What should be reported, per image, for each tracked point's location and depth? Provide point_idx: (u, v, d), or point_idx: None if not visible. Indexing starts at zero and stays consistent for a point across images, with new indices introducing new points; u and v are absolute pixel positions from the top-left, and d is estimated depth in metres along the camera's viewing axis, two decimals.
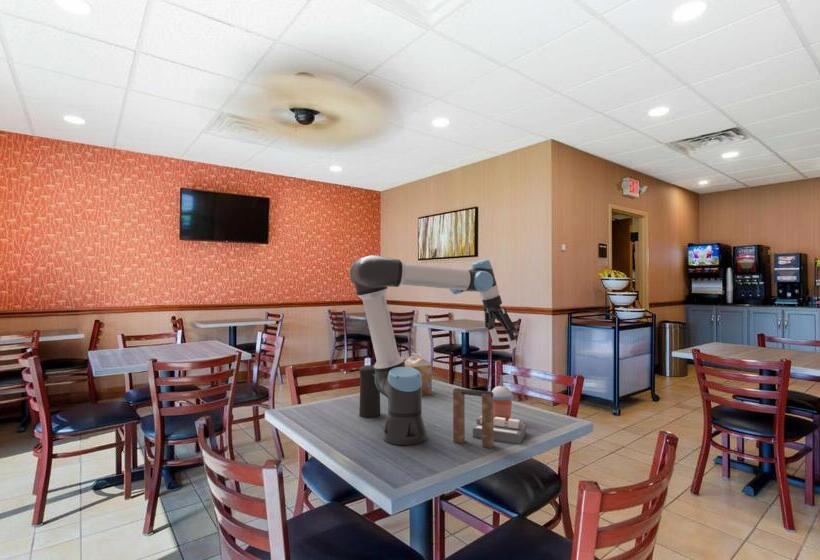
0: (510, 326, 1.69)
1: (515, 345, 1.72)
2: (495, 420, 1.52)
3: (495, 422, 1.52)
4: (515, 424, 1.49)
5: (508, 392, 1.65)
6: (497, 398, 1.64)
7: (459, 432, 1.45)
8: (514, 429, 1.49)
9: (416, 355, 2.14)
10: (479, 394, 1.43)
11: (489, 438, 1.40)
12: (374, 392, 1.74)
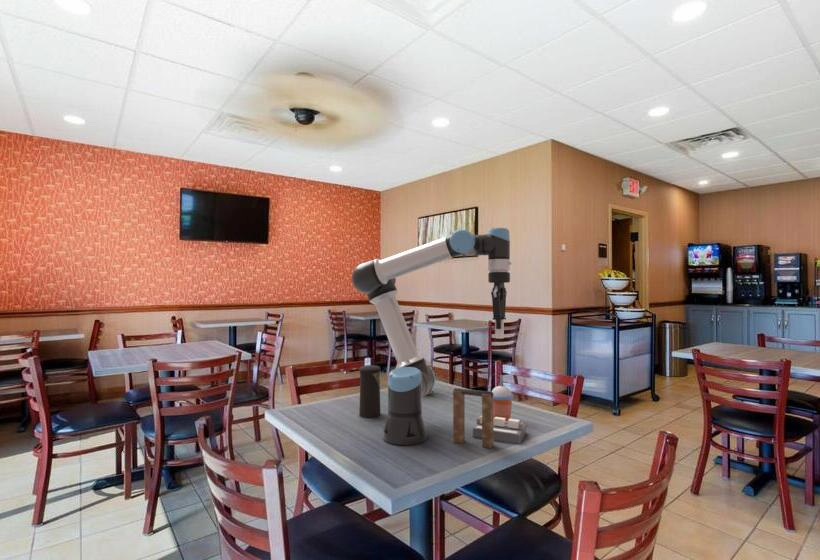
0: (494, 313, 1.50)
1: (500, 336, 1.52)
2: (495, 420, 1.52)
3: (495, 422, 1.52)
4: (515, 424, 1.49)
5: (508, 392, 1.65)
6: (497, 398, 1.64)
7: (459, 432, 1.45)
8: (514, 429, 1.49)
9: None
10: (479, 394, 1.43)
11: (489, 438, 1.40)
12: (374, 392, 1.74)
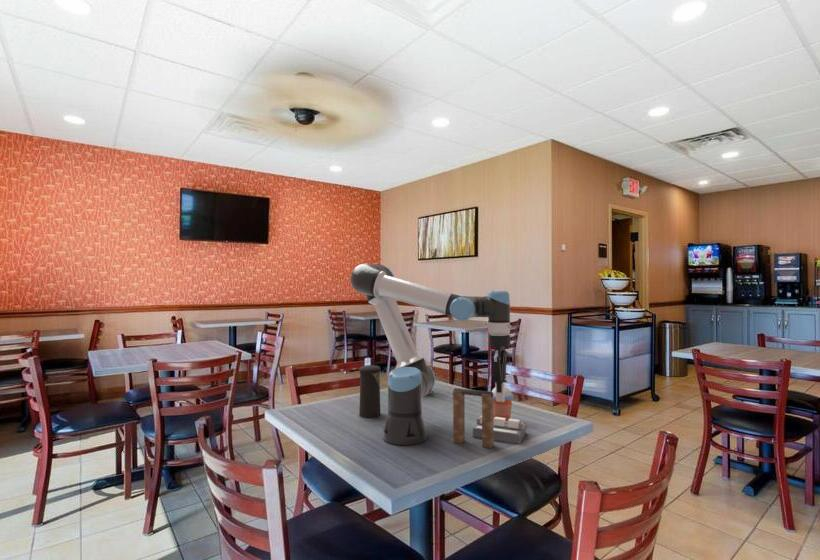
0: (495, 377, 1.49)
1: (501, 399, 1.52)
2: (495, 420, 1.52)
3: (495, 422, 1.52)
4: (515, 424, 1.49)
5: (508, 392, 1.65)
6: None
7: (459, 432, 1.45)
8: (514, 429, 1.49)
9: None
10: (479, 394, 1.43)
11: (489, 438, 1.40)
12: (374, 392, 1.74)
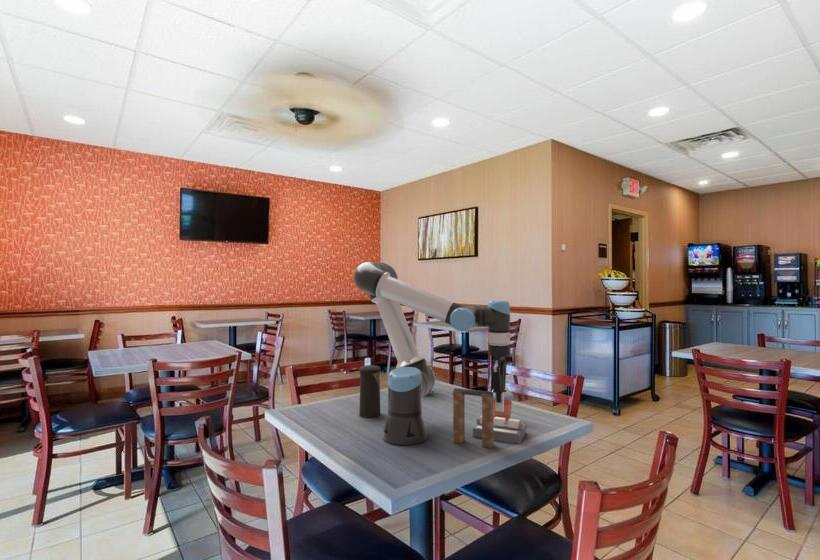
0: (495, 387, 1.49)
1: (501, 409, 1.52)
2: (495, 420, 1.52)
3: (495, 422, 1.52)
4: (515, 424, 1.49)
5: (508, 392, 1.65)
6: None
7: (459, 432, 1.45)
8: (514, 429, 1.49)
9: None
10: (479, 394, 1.43)
11: (489, 438, 1.40)
12: (374, 392, 1.74)
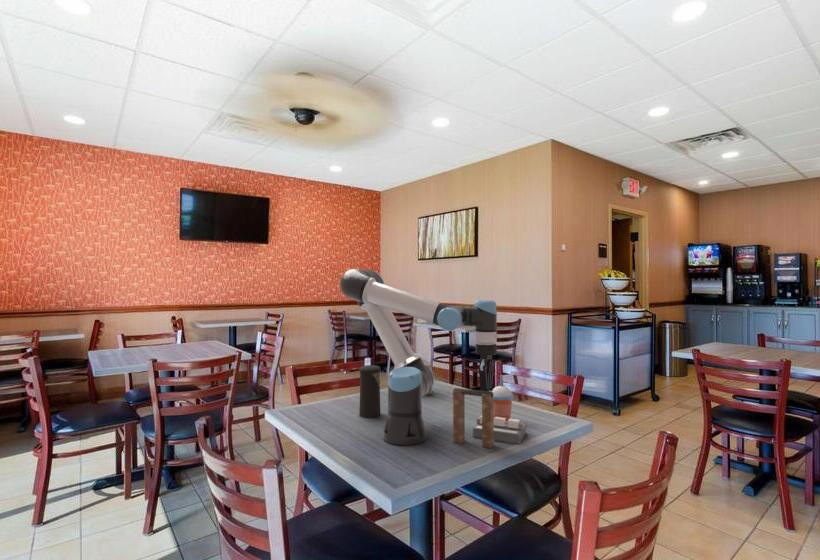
0: (481, 385, 1.51)
1: None
2: (495, 420, 1.52)
3: (495, 422, 1.52)
4: (515, 424, 1.49)
5: (508, 392, 1.65)
6: (497, 398, 1.64)
7: (459, 432, 1.45)
8: (514, 429, 1.49)
9: None
10: (479, 394, 1.43)
11: (489, 438, 1.40)
12: (374, 392, 1.74)
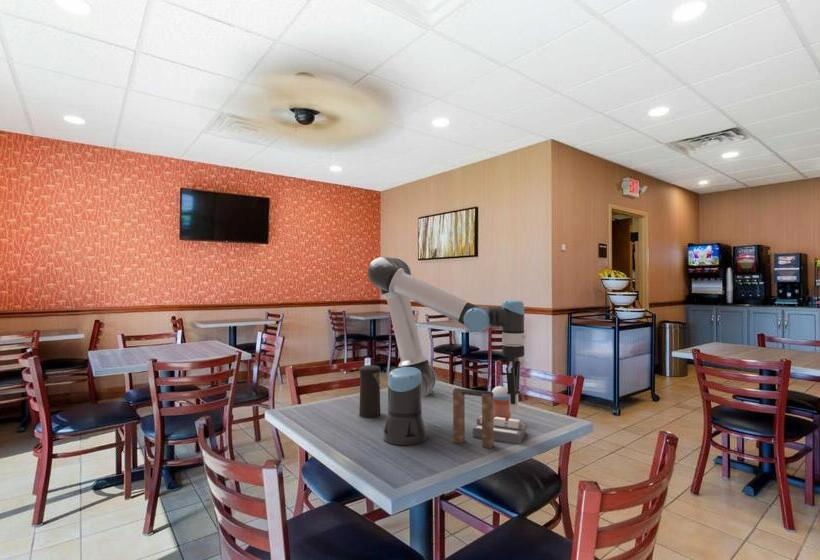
0: (509, 388, 1.47)
1: (515, 411, 1.50)
2: (495, 420, 1.52)
3: (495, 422, 1.52)
4: (515, 424, 1.49)
5: None
6: (497, 398, 1.64)
7: (459, 432, 1.45)
8: (514, 429, 1.49)
9: None
10: (479, 394, 1.43)
11: (489, 438, 1.40)
12: (374, 392, 1.74)
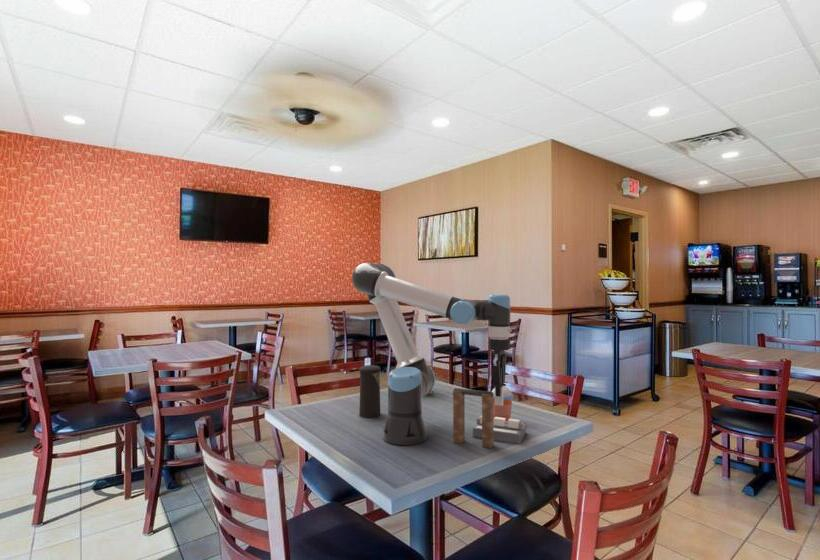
0: (494, 381, 1.49)
1: (500, 403, 1.52)
2: (495, 420, 1.52)
3: (495, 422, 1.52)
4: (515, 424, 1.49)
5: (508, 392, 1.65)
6: None
7: (459, 432, 1.45)
8: (514, 429, 1.49)
9: None
10: (479, 394, 1.43)
11: (489, 438, 1.40)
12: (374, 392, 1.74)
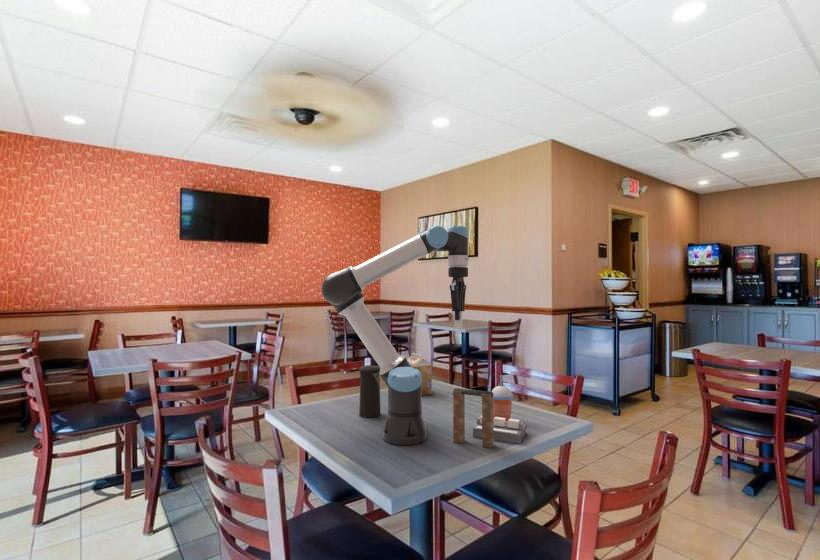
0: (453, 305, 1.62)
1: (459, 326, 1.64)
2: (495, 420, 1.52)
3: (495, 422, 1.52)
4: (515, 424, 1.49)
5: (508, 392, 1.65)
6: (497, 398, 1.64)
7: (459, 432, 1.45)
8: (514, 429, 1.49)
9: (416, 355, 2.14)
10: (479, 394, 1.43)
11: (489, 438, 1.40)
12: (374, 392, 1.74)
